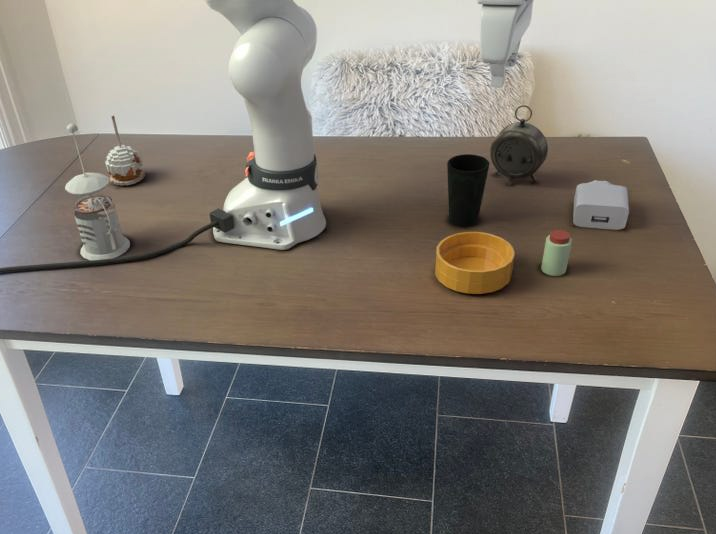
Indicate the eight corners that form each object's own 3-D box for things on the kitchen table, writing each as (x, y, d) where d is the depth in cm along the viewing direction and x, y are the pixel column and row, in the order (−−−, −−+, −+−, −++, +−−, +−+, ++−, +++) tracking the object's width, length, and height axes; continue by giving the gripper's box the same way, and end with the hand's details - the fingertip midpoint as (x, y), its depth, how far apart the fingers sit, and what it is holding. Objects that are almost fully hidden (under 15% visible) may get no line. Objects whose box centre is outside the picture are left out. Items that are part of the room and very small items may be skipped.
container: (542, 275, 124) (548, 240, 119) (539, 262, 127) (545, 228, 122) (567, 276, 123) (574, 241, 119) (564, 263, 126) (571, 228, 122)
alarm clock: (543, 180, 151) (555, 104, 140) (535, 191, 147) (547, 114, 137) (493, 171, 155) (502, 96, 145) (484, 181, 152) (492, 106, 142)
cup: (487, 214, 141) (493, 156, 134) (477, 232, 136) (483, 174, 128) (449, 208, 144) (453, 152, 136) (438, 226, 139) (442, 168, 131)
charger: (621, 193, 144) (624, 230, 133) (573, 190, 147) (572, 226, 136) (627, 171, 141) (630, 207, 130) (577, 168, 144) (576, 203, 133)
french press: (112, 229, 146) (80, 109, 130) (145, 248, 140) (115, 124, 124) (70, 249, 141) (31, 126, 125) (102, 269, 135) (65, 142, 119)
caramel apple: (148, 182, 162) (134, 117, 152) (114, 190, 160) (97, 125, 150) (140, 169, 168) (126, 106, 158) (108, 177, 166) (91, 113, 156)
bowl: (435, 295, 121) (436, 271, 118) (434, 255, 131) (436, 231, 128) (513, 297, 119) (517, 272, 116) (507, 256, 129) (511, 232, 126)
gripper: (505, -41, 110) (497, 52, 119) (474, -6, 96) (468, 97, 105) (548, -41, 107) (536, 54, 116) (522, -6, 93) (511, 100, 102)
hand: (503, 75), depth 110 cm, fingers open, 8 cm apart
